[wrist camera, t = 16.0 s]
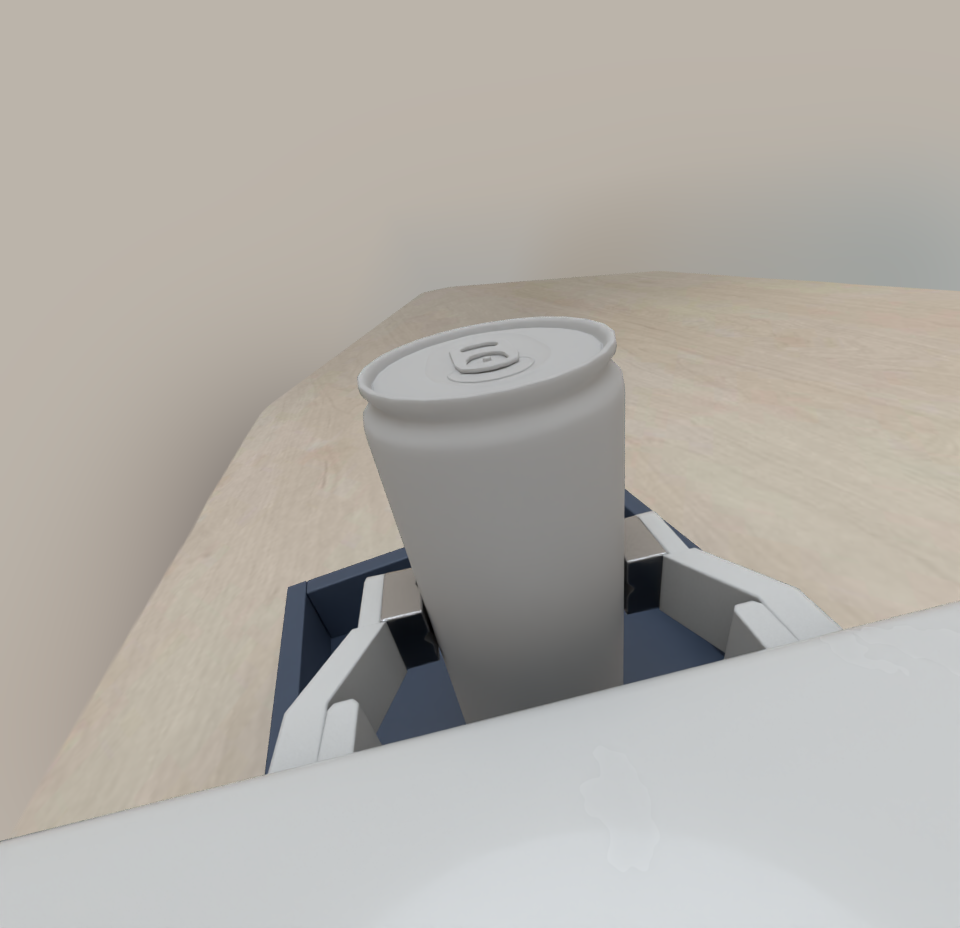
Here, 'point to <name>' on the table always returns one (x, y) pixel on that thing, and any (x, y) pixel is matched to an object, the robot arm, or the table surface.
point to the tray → (428, 688)
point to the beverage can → (510, 502)
